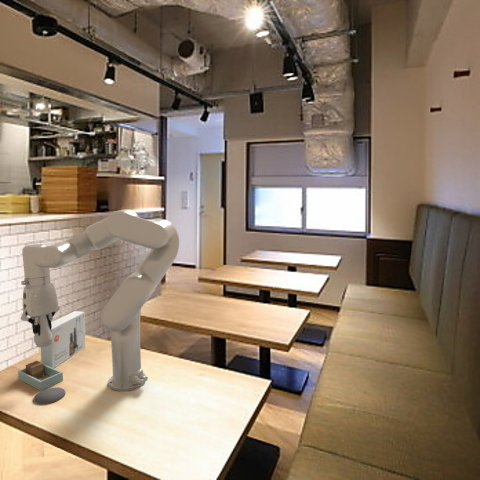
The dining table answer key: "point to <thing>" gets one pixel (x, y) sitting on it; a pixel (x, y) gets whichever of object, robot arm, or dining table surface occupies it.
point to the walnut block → (35, 369)
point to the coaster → (49, 395)
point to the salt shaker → (43, 333)
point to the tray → (55, 378)
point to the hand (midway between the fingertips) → (42, 332)
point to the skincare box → (65, 339)
